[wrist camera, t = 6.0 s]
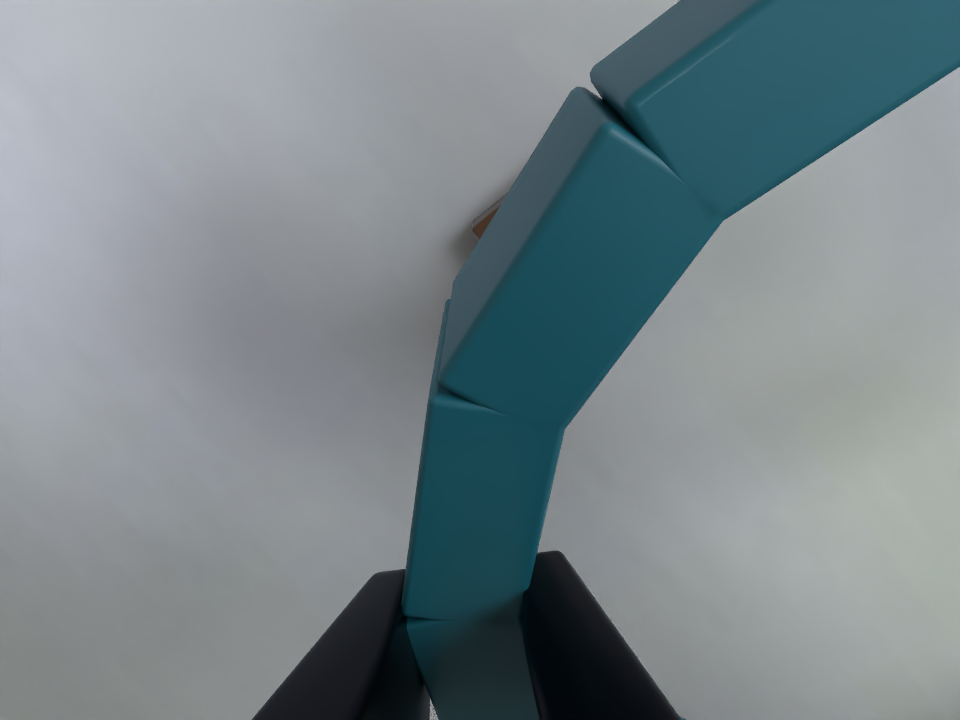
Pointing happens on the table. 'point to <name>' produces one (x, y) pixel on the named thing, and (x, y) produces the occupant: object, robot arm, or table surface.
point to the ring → (615, 279)
